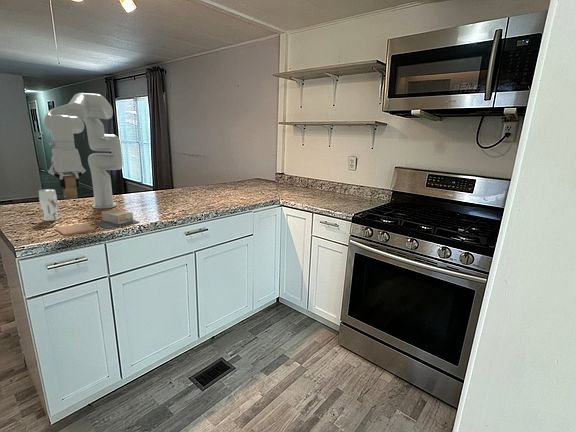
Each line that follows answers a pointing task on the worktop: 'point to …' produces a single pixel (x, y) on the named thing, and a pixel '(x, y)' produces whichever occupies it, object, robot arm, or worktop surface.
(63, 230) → the pad
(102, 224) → the mat
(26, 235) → the worktop surface
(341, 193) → the worktop surface
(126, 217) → the supplement box
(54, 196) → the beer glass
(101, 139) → the robot arm
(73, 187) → the walnut block
